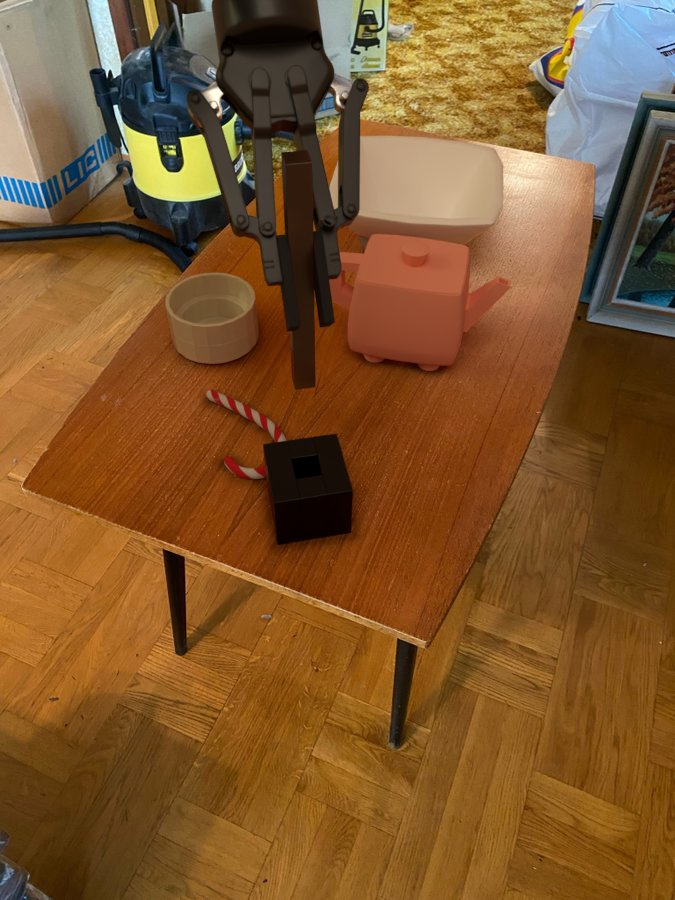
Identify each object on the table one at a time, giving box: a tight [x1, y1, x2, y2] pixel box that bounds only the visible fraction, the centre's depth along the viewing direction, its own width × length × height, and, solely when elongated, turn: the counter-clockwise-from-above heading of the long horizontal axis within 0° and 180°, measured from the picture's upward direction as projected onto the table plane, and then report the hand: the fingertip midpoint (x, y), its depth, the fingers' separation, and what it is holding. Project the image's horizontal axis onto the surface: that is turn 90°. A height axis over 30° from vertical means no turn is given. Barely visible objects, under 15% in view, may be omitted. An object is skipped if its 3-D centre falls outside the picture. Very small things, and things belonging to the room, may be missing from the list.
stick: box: [280, 150, 317, 391], centre depth 54 cm, size 2×2×20 cm
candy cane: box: [205, 389, 287, 480], centre depth 81 cm, size 8×1×15 cm
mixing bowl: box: [164, 271, 260, 365], centre depth 90 cm, size 11×11×6 cm
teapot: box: [329, 234, 512, 372], centre depth 88 cm, size 22×13×14 cm, turn 78°
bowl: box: [329, 134, 504, 252], centre depth 106 cm, size 24×25×10 cm
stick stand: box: [262, 433, 354, 546], centre depth 72 cm, size 8×8×7 cm
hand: (310, 326), depth 52 cm, fingers closed on stick, 2 cm apart
